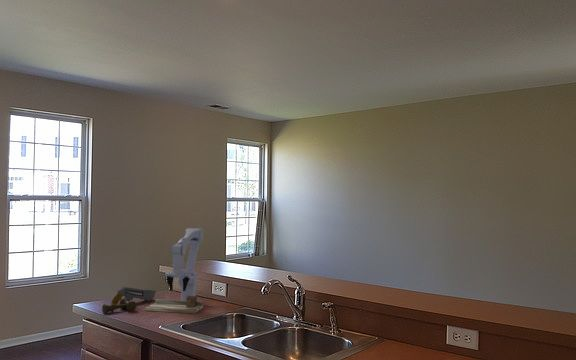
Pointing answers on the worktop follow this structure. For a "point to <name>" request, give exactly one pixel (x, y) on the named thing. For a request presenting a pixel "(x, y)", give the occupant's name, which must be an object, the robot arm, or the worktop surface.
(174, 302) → the board
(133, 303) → the kendama
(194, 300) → the brown handled block
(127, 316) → the worktop surface
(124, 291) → the gun
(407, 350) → the worktop surface
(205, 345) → the worktop surface
